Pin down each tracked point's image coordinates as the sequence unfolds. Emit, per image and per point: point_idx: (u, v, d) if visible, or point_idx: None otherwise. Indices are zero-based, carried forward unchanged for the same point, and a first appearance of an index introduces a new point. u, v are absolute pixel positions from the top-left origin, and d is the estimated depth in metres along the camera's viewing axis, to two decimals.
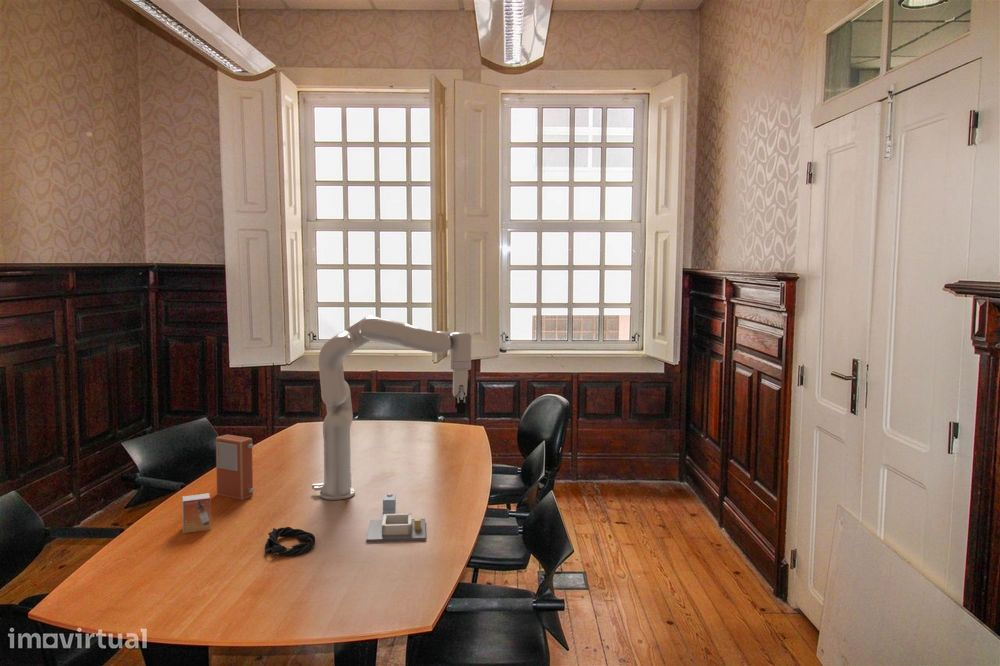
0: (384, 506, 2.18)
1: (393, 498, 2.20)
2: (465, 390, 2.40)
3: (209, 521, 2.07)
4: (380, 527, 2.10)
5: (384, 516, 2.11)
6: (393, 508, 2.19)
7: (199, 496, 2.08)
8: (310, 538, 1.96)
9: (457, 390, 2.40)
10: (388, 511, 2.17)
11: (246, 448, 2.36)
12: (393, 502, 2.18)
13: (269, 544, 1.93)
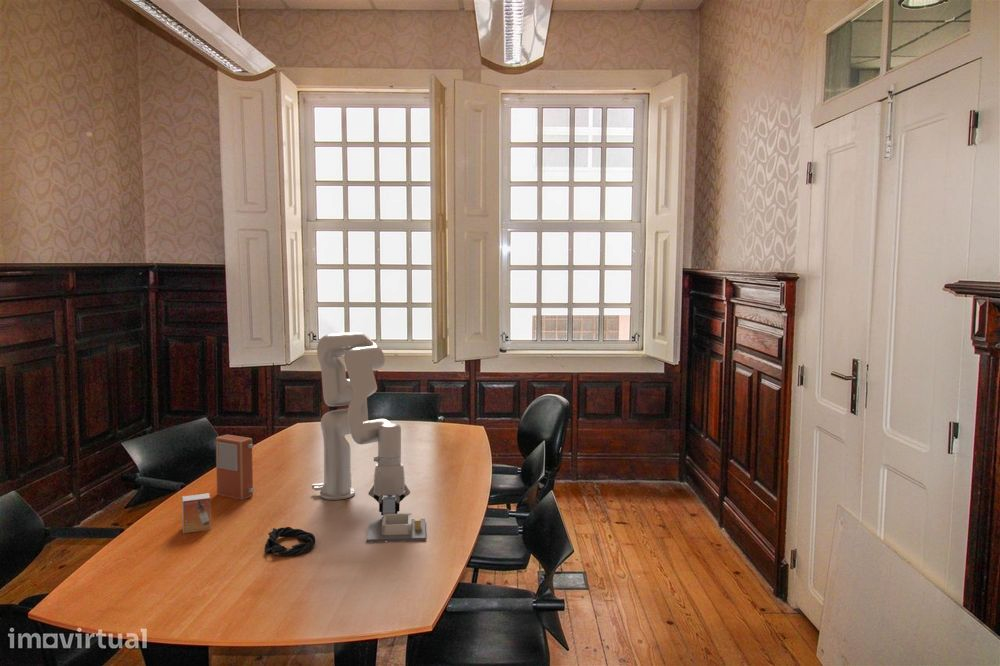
0: (384, 506, 2.18)
1: (393, 498, 2.20)
2: None
3: (209, 521, 2.07)
4: (380, 527, 2.10)
5: (384, 516, 2.11)
6: (393, 508, 2.19)
7: (199, 496, 2.08)
8: (310, 538, 1.96)
9: (404, 486, 2.20)
10: (388, 511, 2.17)
11: (246, 448, 2.36)
12: (393, 502, 2.18)
13: (269, 544, 1.93)
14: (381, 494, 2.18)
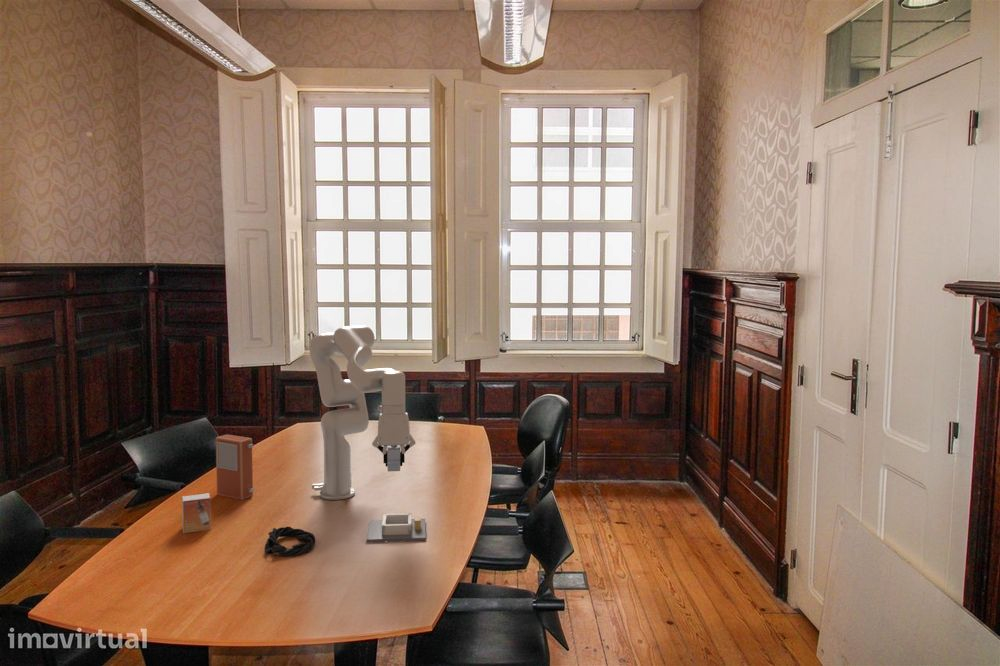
0: (389, 456, 2.10)
1: (398, 448, 2.12)
2: None
3: (209, 521, 2.07)
4: (380, 527, 2.10)
5: (384, 516, 2.11)
6: (398, 458, 2.11)
7: (199, 496, 2.08)
8: (310, 538, 1.96)
9: (409, 436, 2.12)
10: (393, 461, 2.09)
11: (246, 448, 2.36)
12: (398, 452, 2.10)
13: (269, 544, 1.93)
14: (385, 444, 2.10)
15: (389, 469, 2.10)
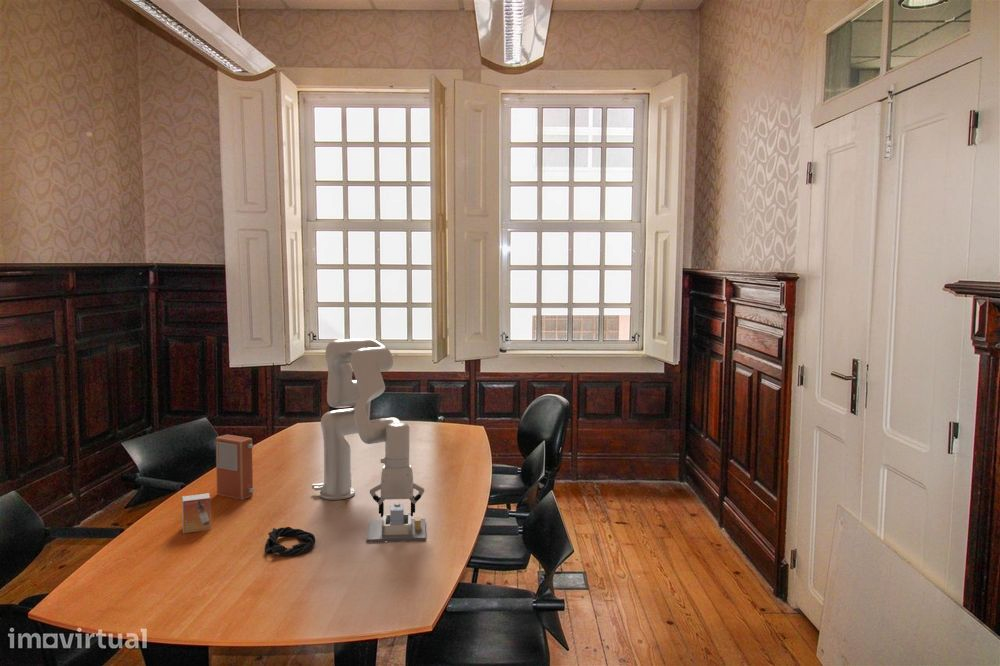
0: (392, 517, 2.06)
1: (401, 508, 2.07)
2: None
3: (209, 521, 2.07)
4: (380, 527, 2.10)
5: (384, 516, 2.11)
6: (401, 519, 2.06)
7: (199, 496, 2.08)
8: (310, 538, 1.96)
9: None
10: (396, 522, 2.05)
11: (246, 448, 2.36)
12: (401, 513, 2.06)
13: (269, 544, 1.93)
14: (388, 498, 2.05)
15: None
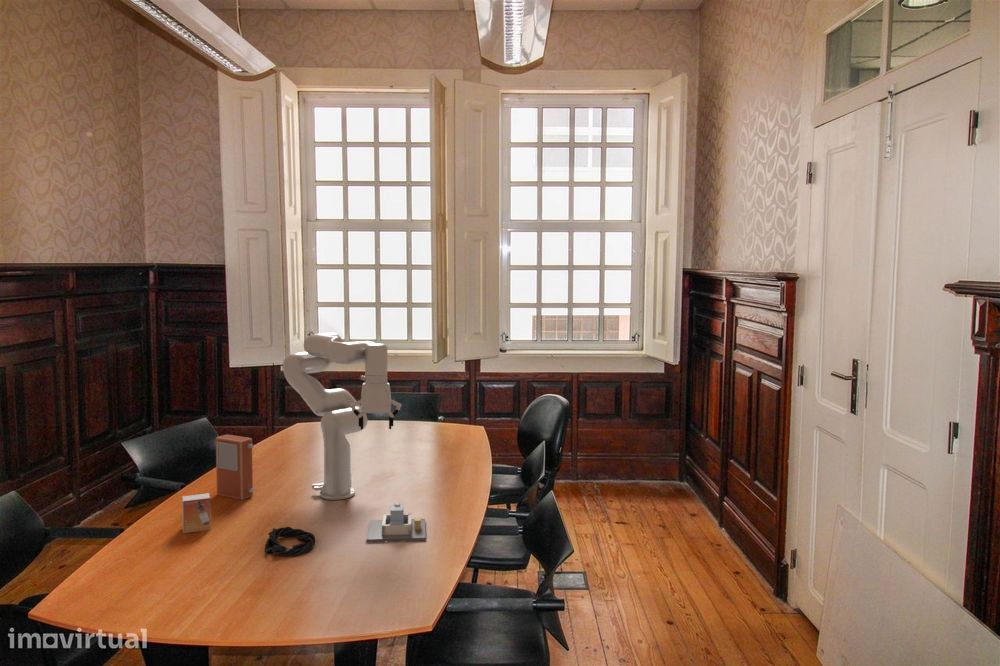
0: (392, 517, 2.06)
1: (401, 508, 2.07)
2: None
3: (209, 521, 2.07)
4: (380, 527, 2.10)
5: (384, 516, 2.11)
6: (401, 519, 2.06)
7: (199, 496, 2.08)
8: (310, 538, 1.96)
9: (390, 404, 2.26)
10: (396, 522, 2.05)
11: (246, 448, 2.36)
12: (401, 513, 2.06)
13: (269, 544, 1.93)
14: (368, 411, 2.24)
15: None
